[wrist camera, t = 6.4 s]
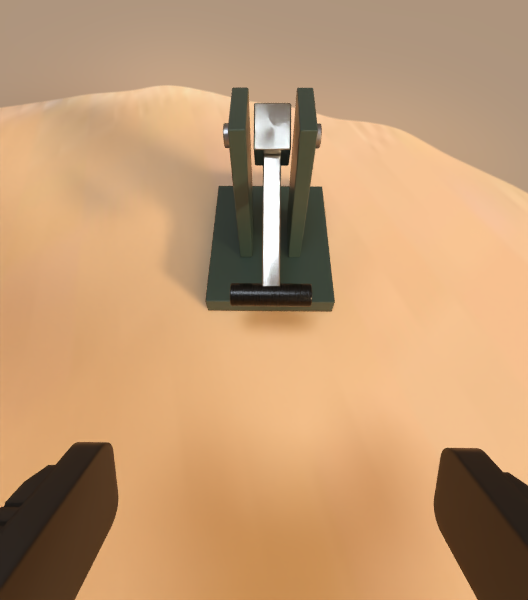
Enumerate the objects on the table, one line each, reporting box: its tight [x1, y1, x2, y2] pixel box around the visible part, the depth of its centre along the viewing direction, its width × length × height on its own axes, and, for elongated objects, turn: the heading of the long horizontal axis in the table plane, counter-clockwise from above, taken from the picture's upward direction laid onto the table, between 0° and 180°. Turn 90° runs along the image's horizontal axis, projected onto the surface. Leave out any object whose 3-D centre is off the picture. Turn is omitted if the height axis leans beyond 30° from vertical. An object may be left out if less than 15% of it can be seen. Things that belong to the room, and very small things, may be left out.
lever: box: [230, 103, 312, 307], centre depth 21 cm, size 12×5×2 cm, turn 179°
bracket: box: [206, 88, 335, 311], centre depth 25 cm, size 13×10×13 cm
